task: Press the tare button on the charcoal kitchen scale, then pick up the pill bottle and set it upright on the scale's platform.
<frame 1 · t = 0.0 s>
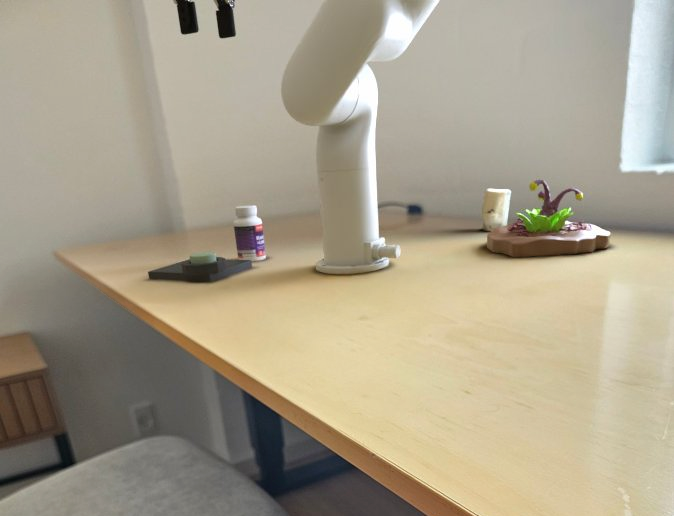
hand: (209, 35, 107), 37 cm above the table, tool pointing down, fingers open, 9 cm apart
pill bottle: (252, 260, 127), on the table
tare button: (203, 258, 112), point 3 cm above the table, slide at 0.1 cm
scale: (201, 273, 118), on the table
plant: (542, 247, 117), on the table
white speckled cylinder: (495, 230, 138), on the table
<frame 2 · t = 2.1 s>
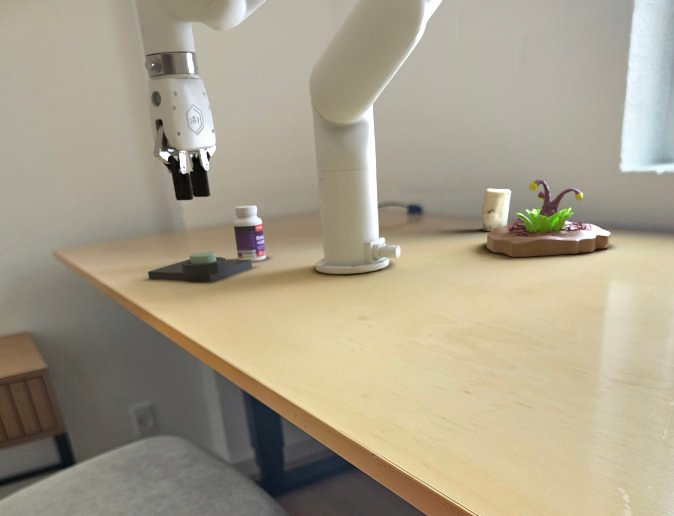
hand: (193, 197, 107), 13 cm above the table, tool pointing down, fingers open, 3 cm apart
nothing on the table moved.
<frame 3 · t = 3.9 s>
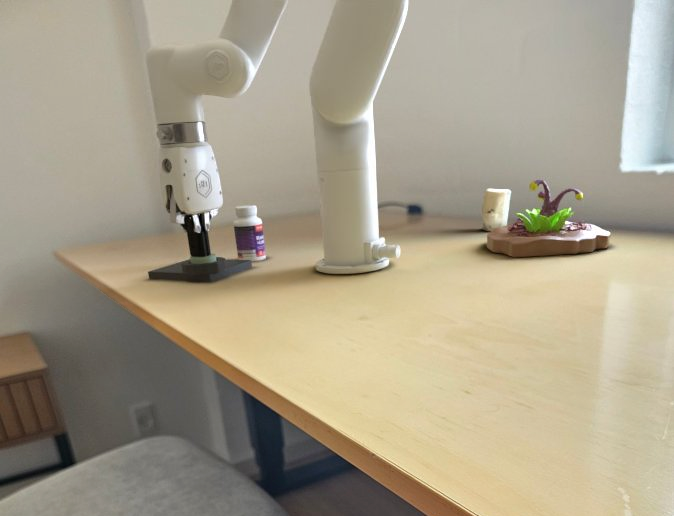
hand: (200, 255, 111), 4 cm above the table, tool pointing down, fingers closed
tare button: (203, 260, 112), point 3 cm above the table, slide at -0.2 cm, touching gripper
everything else where it was.
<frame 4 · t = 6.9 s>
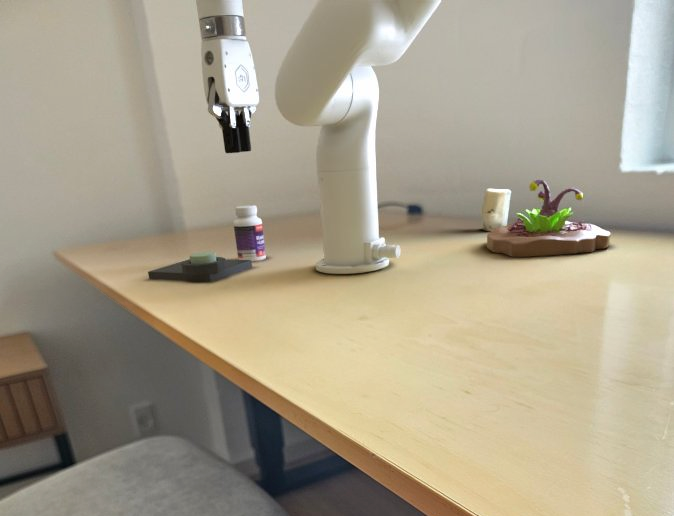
hand: (238, 151, 118), 19 cm above the table, tool pointing down, fingers closed
tare button: (203, 258, 112), point 3 cm above the table, slide at 0.1 cm
everything else where it was.
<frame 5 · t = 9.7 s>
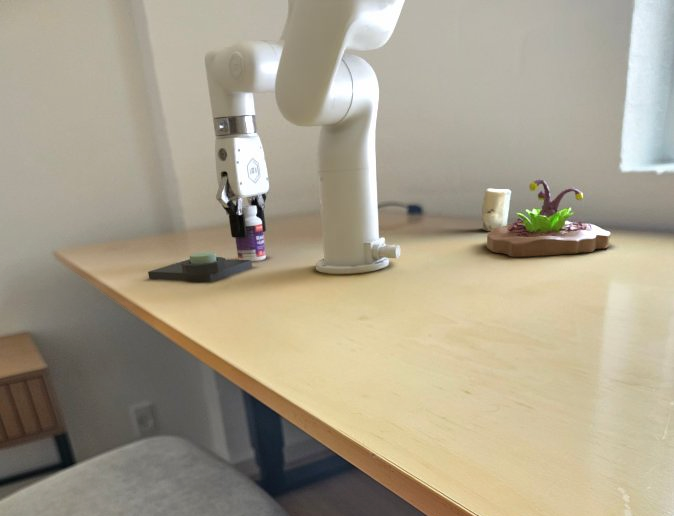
hand: (249, 233, 125), 5 cm above the table, tool pointing down, fingers closed on pill bottle, 5 cm apart
pill bottle: (252, 260, 127), on the table, touching gripper
everything else where it was.
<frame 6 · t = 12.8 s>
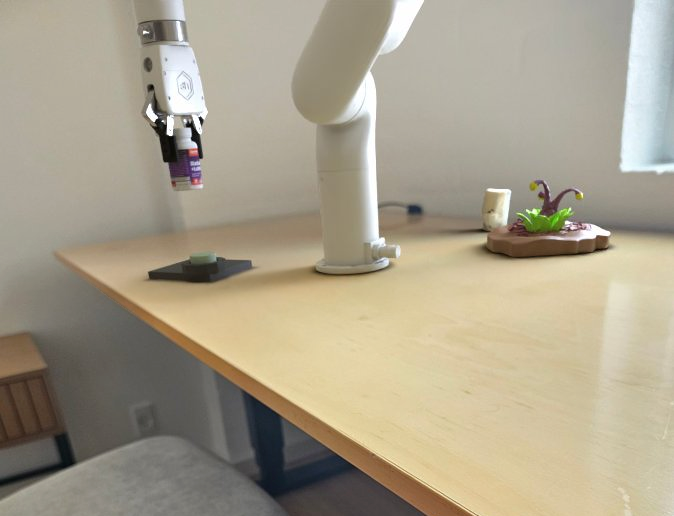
hand: (183, 159, 113), 19 cm above the table, tool pointing down, fingers closed on pill bottle, 5 cm apart
pill bottle: (188, 191, 115), point 14 cm above the table, touching gripper
everything else where it was.
when the fingers open (6 cm above the table, at t = 16.2 s): pill bottle stays where it is, resting on scale.
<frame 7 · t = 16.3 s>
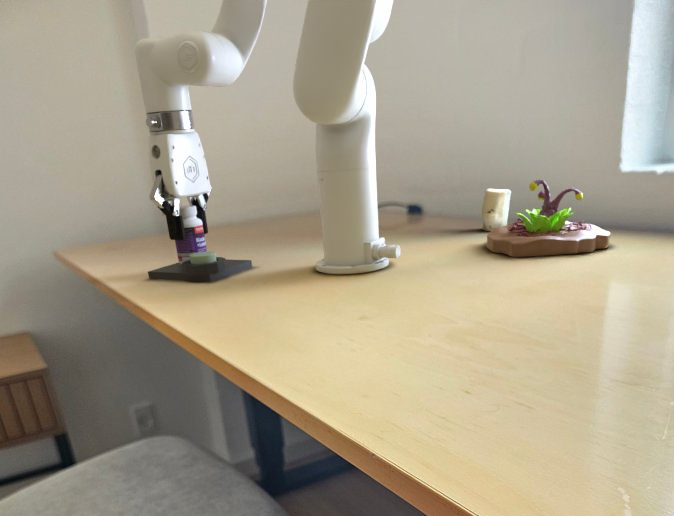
hand: (189, 235, 118), 6 cm above the table, tool pointing down, fingers open, 5 cm apart
pill bottle: (194, 264, 120), point 1 cm above the table, touching scale
everything else where it was.
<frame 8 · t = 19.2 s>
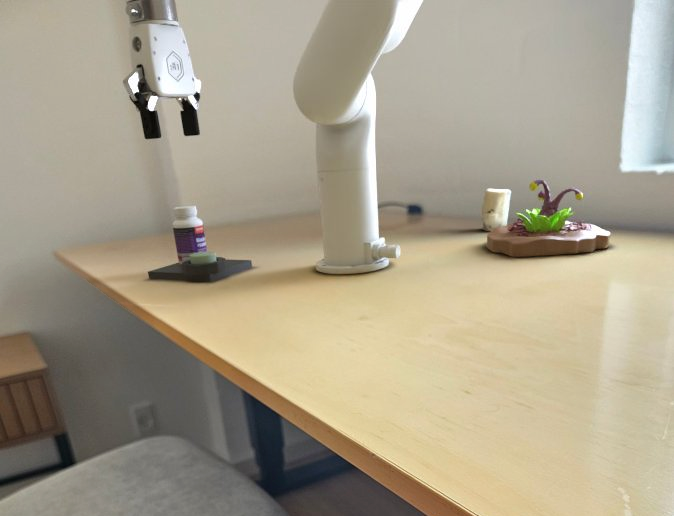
hand: (173, 137, 111), 22 cm above the table, tool pointing down, fingers open, 9 cm apart
nothing on the table moved.
at the end: tare button pushed in 0.9 cm at the most during the clip, back to where it started at the end; pill bottle inside the target area on the scale (3.6 cm from its centre), point 1.2 cm above the scale's base; pill bottle tilted 0° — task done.
